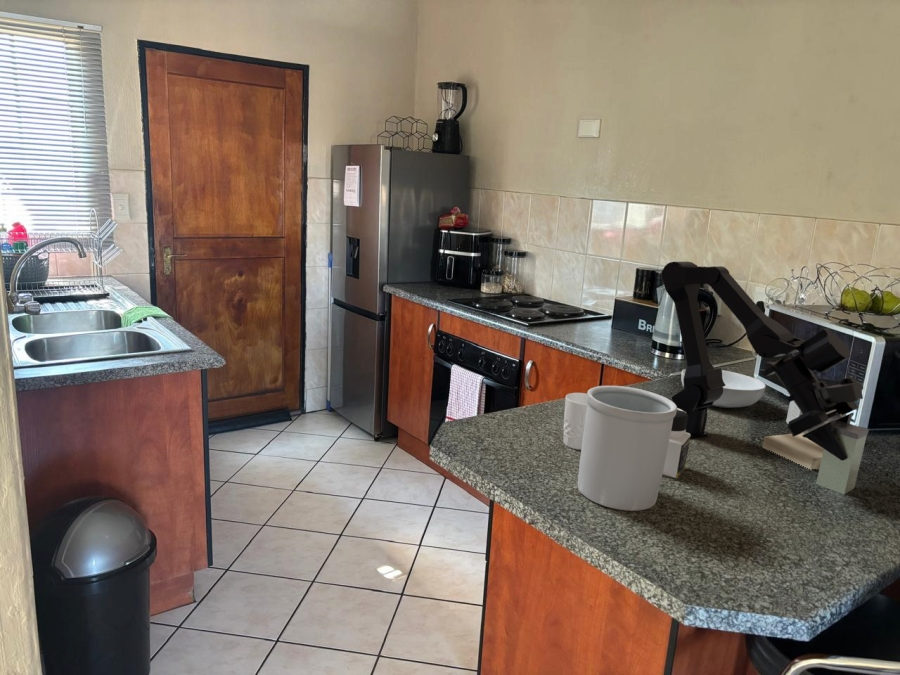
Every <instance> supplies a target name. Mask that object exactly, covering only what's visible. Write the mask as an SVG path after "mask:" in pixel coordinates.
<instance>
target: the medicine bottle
mask: <svg viewBox="0 0 900 675" xmlns="http://www.w3.org/2000/svg"><path fill="white" fill-rule="evenodd" d="M687 420H688V415H687V413H686V412H684V411H683V410H681V409H678V408H677V412H676V415H675V417H674V418H673V423H672V429H671V434H670V439H669V444H668V449H667V454H666V459H665V464H664V470H663V474H662V476H665V477H666V476H667V477H670V478H673V479H677V478H678V477H679V476H680V475H681V473H682V472H683V470H684V469H685V468H686V464H687V460H688V453H689V449H690V448H689V447H690V443H691V441H690V440H691V438H690V436H691V434H690V433H686V426H687Z"/></svg>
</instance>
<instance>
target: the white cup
mask: <svg viewBox="0 0 900 675" xmlns="http://www.w3.org/2000/svg"><path fill="white" fill-rule="evenodd" d="M564 402H565V403H564V416H563V435H562V436H563V437H562V442H563V444H564V445H565V446H566V447H568V448H571V449H573V450H578V451H581V449H582V442H583V433H584V426H585V419H586V411H587V404H588V402H587V393H586V392H585V393H584V392H572V393H570V392H569V393H568V394H566V395H565V399H564Z"/></svg>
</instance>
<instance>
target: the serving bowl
mask: <svg viewBox="0 0 900 675" xmlns="http://www.w3.org/2000/svg"><path fill="white" fill-rule="evenodd" d="M721 370H722V369H721ZM685 371H686V368H685V369H682V371H681V372H680V374H681V375H680V376H681V377H680V379H681V384H682V387H683V388H684V381H683V379H684V375H685ZM722 379H723V382H724V383H725V386H723V394H722V395H721V397H720V398H719V399H718V400H716V401H714V403H713V404H712V407H713V406H714V407H718V408H723V409H724V408H726V409H729V408H730V409H731V408H732V409H733V408H743V407H744V408H746V407H748V406H751V405H753V404H756V403H757V402H758V401H759V400H760V399H761V398H762V397H763V394H764V393H765V391H766V387H767V386H766V384H765V383H764V382H763V381H761V380H759V379H757V378H754V377H752V376H748V375H745V374H742V373H738V372H733V371H730V370H722Z"/></svg>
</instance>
